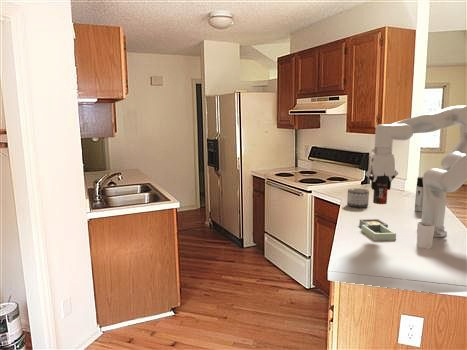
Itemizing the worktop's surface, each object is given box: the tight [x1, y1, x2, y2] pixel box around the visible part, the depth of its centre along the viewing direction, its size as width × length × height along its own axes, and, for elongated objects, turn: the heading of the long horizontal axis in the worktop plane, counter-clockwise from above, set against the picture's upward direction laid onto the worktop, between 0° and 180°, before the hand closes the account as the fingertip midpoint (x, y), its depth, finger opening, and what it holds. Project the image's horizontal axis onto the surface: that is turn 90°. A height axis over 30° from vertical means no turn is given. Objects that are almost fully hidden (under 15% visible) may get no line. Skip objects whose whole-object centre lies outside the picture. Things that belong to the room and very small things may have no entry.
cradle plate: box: [365, 221, 381, 225], centre depth 178 cm, size 7×7×2 cm
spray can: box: [414, 176, 424, 213], centre depth 209 cm, size 7×7×20 cm
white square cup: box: [416, 221, 435, 249], centre depth 152 cm, size 7×7×10 cm
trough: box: [361, 224, 397, 241], centre depth 167 cm, size 14×10×3 cm
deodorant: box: [372, 172, 389, 205], centre depth 164 cm, size 6×6×15 cm
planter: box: [346, 187, 370, 209], centre depth 222 cm, size 13×13×10 cm
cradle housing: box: [358, 218, 389, 232], centre depth 178 cm, size 10×10×3 cm
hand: (380, 189), depth 164 cm, fingers closed on deodorant, 6 cm apart
